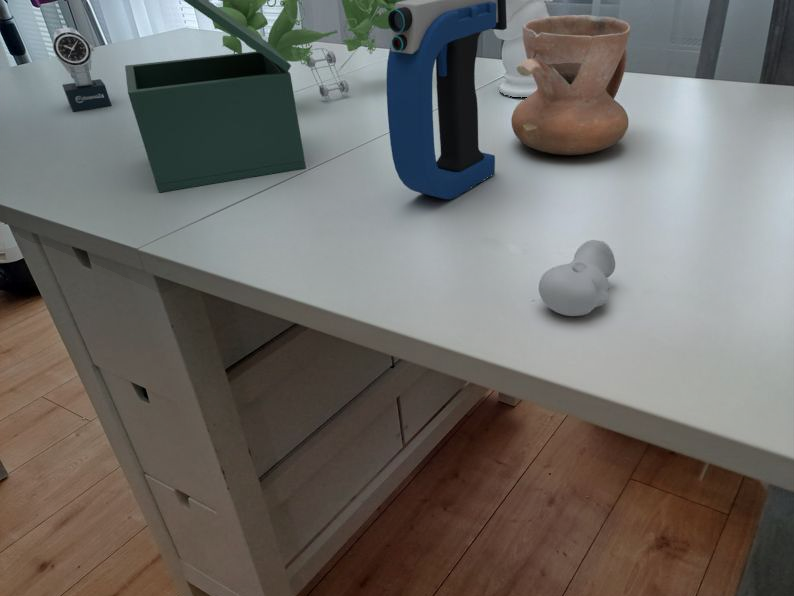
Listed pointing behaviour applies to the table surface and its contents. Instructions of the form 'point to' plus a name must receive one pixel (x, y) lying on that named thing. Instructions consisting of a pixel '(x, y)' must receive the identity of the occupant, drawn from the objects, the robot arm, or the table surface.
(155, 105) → the dark green hollow box
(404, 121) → the handheld scanner
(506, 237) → the table surface
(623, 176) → the table surface
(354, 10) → the plant cuttings
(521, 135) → the ceramic jug
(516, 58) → the cherub figurine
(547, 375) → the table surface
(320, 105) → the table surface
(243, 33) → the lid
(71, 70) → the watch
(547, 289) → the smooth white sculpture
